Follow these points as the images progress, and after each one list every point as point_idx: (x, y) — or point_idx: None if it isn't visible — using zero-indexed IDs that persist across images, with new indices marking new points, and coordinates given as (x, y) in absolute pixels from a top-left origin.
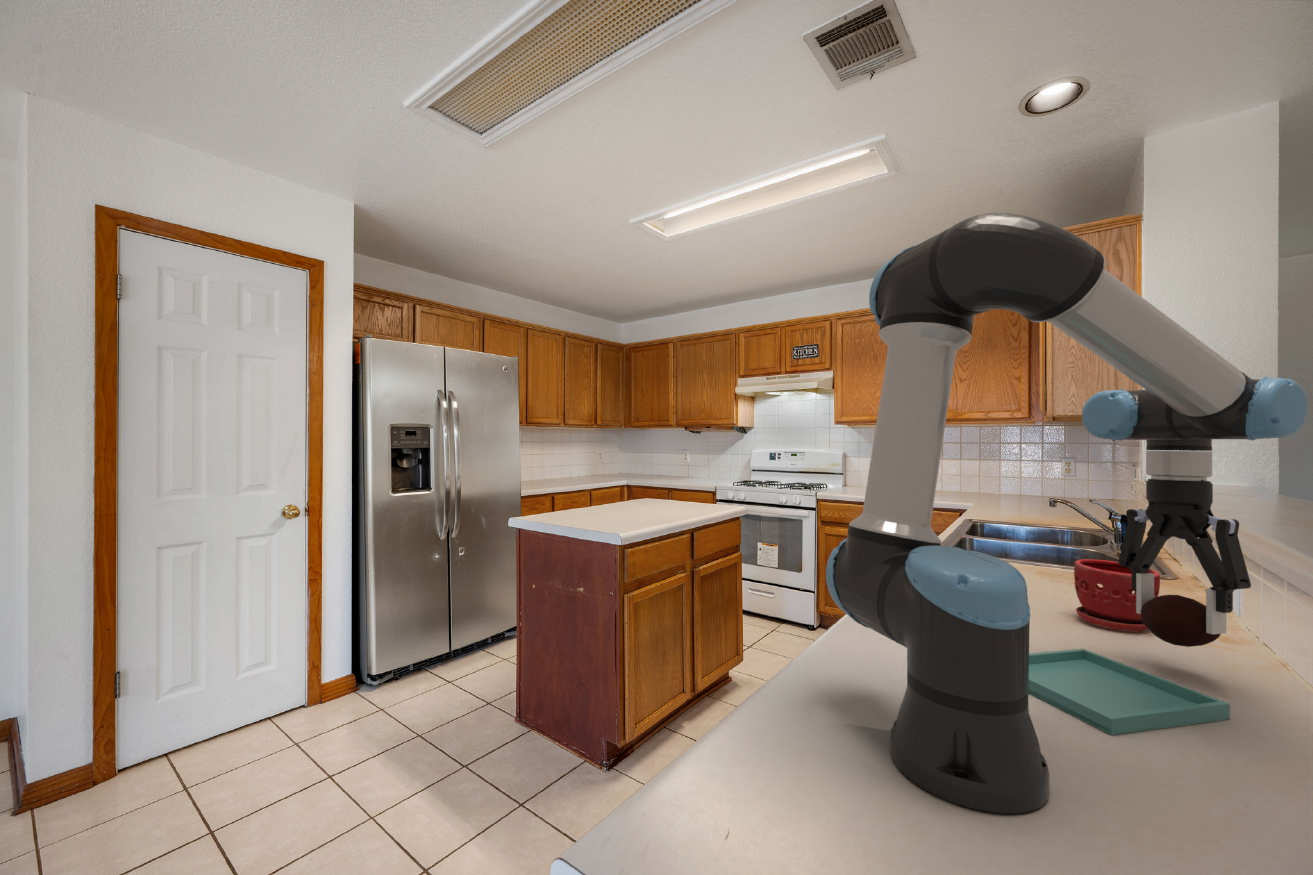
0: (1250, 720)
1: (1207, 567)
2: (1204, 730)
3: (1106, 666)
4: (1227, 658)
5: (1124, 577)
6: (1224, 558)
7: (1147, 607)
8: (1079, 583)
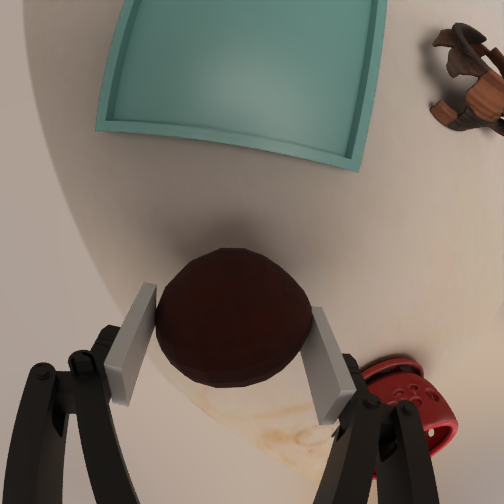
0: (94, 157)
1: (98, 434)
2: (105, 52)
3: (300, 145)
4: (242, 389)
5: None
6: (28, 453)
7: (287, 295)
8: (440, 396)
